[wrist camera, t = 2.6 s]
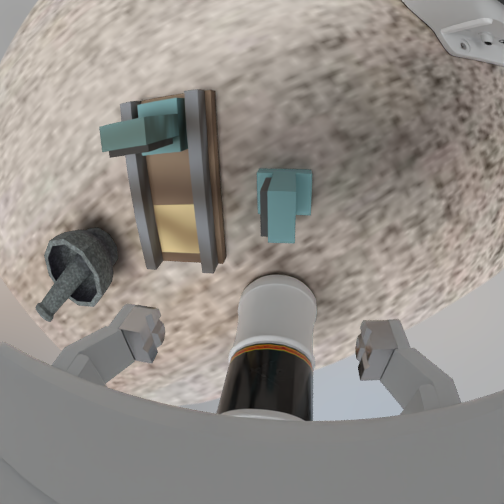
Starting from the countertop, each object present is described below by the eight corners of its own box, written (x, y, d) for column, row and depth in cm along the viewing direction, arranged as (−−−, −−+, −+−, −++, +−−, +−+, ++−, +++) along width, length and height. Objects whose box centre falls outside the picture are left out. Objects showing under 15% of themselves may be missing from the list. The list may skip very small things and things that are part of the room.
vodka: (331, 294, 32) (340, 574, 6) (288, 338, 36) (261, 565, 10) (265, 256, 31) (193, 577, 5) (228, 308, 35) (153, 548, 9)
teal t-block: (310, 169, 25) (317, 192, 19) (309, 208, 27) (314, 244, 20) (259, 168, 26) (246, 190, 19) (260, 206, 28) (248, 241, 21)
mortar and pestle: (90, 201, 30) (25, 244, 20) (140, 250, 33) (87, 310, 22) (65, 251, 35) (15, 295, 25) (107, 292, 38) (64, 346, 27)
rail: (134, 104, 24) (74, 109, 16) (214, 91, 23) (175, 82, 15) (155, 253, 33) (117, 300, 24) (226, 256, 31) (202, 311, 23)
